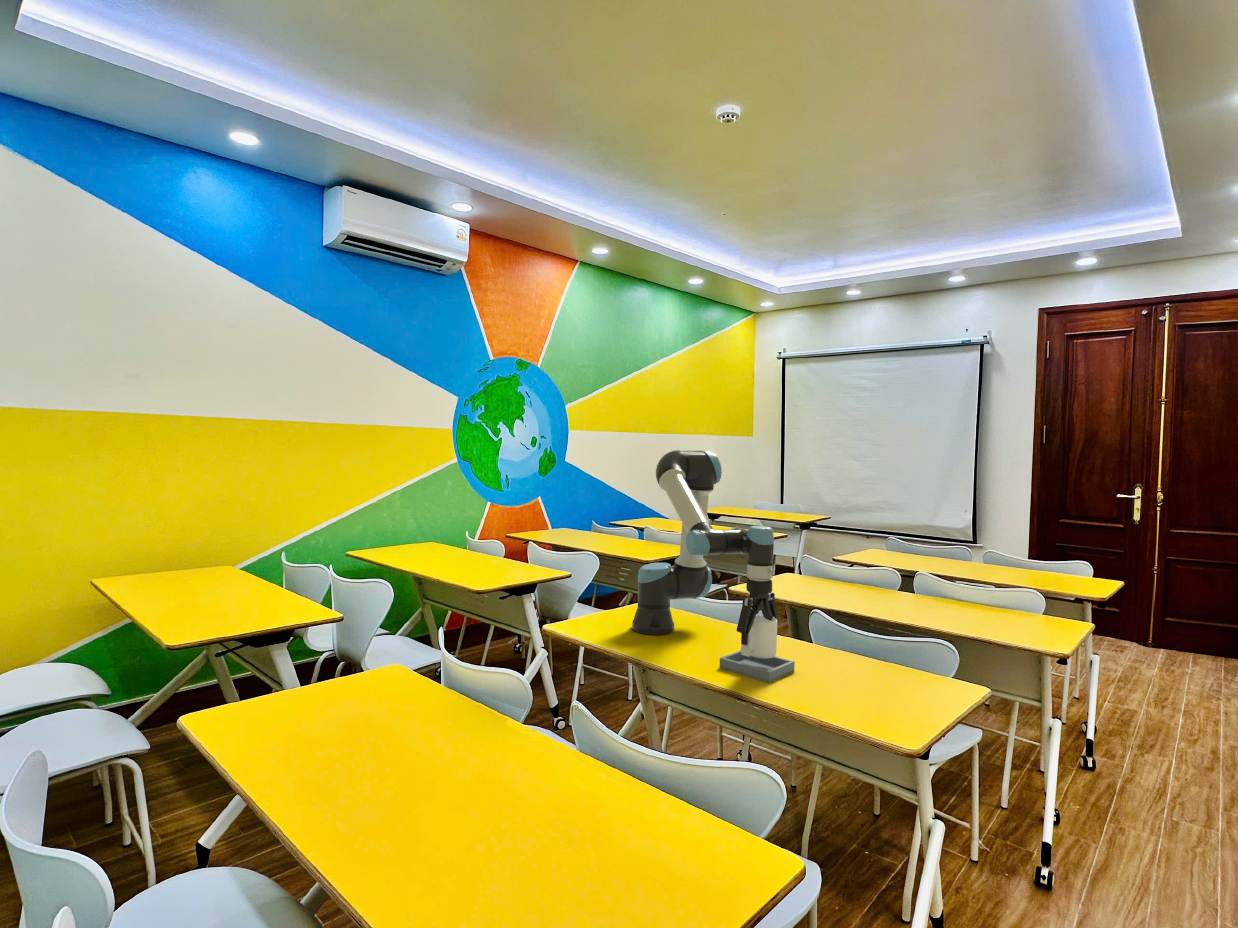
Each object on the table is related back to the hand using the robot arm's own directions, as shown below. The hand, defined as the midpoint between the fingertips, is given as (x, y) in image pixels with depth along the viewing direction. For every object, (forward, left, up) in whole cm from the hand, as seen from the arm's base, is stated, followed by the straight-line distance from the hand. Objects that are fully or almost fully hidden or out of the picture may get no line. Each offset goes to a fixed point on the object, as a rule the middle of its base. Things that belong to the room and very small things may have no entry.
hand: (757, 651), depth 199 cm
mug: (0, 0, -1) cm, 1 cm away
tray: (0, 0, -6) cm, 6 cm away
